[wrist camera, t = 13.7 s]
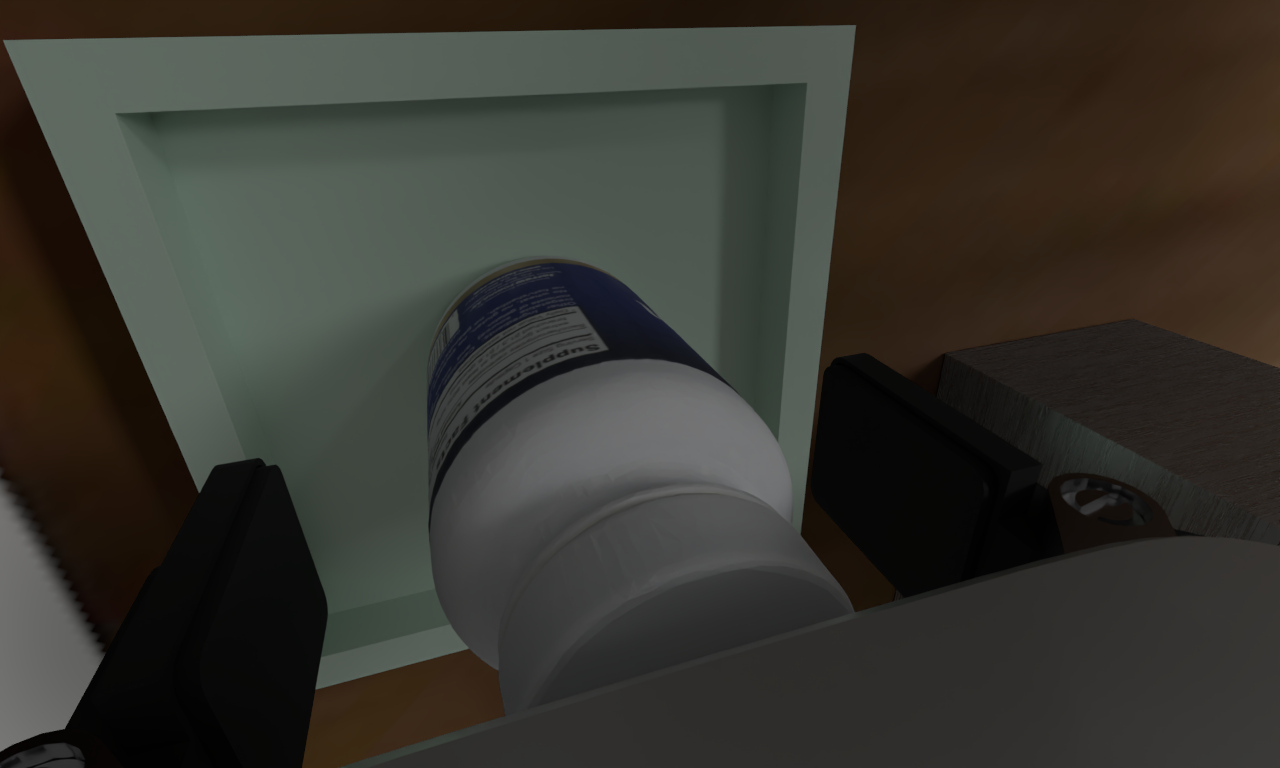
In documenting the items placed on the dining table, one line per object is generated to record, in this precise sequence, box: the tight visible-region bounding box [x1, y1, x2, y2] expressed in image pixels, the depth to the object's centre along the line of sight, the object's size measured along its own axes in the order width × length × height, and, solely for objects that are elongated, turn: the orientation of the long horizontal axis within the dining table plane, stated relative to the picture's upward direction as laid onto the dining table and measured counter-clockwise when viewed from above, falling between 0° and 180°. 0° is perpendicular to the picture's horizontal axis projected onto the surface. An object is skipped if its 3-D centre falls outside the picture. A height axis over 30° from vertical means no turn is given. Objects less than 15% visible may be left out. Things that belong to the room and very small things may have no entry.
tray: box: [3, 25, 856, 690], centre depth 15 cm, size 14×14×2 cm
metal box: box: [894, 319, 1280, 601], centre depth 17 cm, size 9×13×16 cm
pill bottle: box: [427, 256, 855, 716], centre depth 11 cm, size 5×5×10 cm
